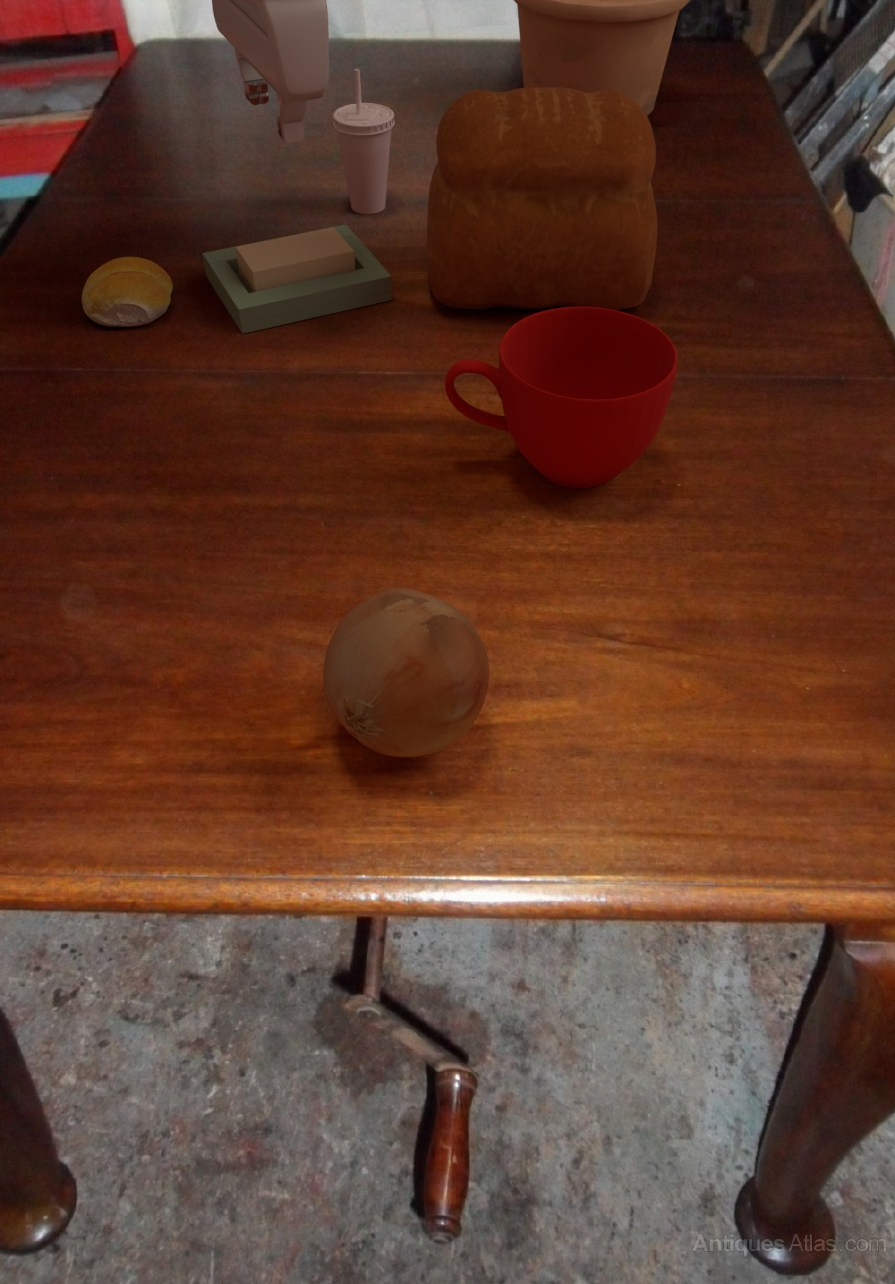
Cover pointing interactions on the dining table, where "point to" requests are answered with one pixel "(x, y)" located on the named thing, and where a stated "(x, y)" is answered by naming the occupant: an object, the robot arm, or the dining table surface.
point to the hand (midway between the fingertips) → (274, 120)
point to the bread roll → (127, 292)
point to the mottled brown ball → (406, 673)
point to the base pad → (298, 289)
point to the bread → (542, 201)
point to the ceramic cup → (577, 391)
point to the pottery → (597, 45)
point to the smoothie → (365, 150)
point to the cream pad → (294, 259)
